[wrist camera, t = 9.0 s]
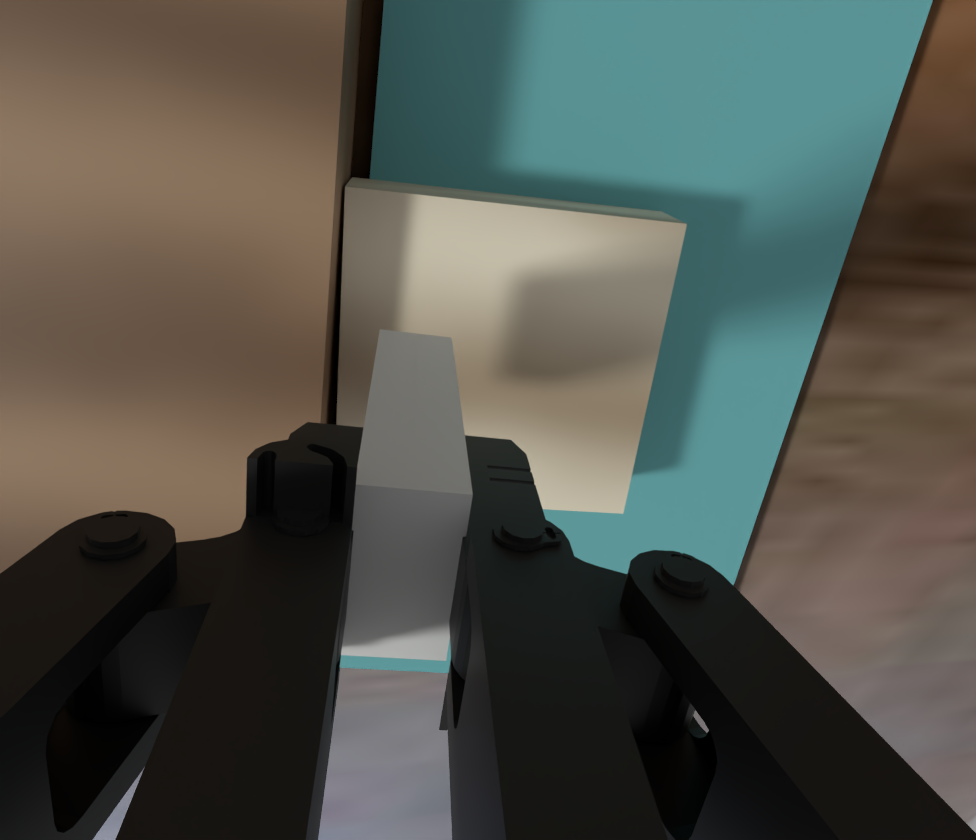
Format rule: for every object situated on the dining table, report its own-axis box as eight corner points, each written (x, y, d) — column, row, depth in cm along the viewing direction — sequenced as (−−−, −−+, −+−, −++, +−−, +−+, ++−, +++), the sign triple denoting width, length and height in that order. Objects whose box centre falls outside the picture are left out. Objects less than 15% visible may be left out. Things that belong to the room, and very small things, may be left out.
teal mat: (403, -234, 15) (403, -244, 15) (957, -110, 17) (972, -116, 17) (332, 656, 25) (330, 666, 24) (694, 675, 27) (699, 685, 26)
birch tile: (352, 177, 18) (344, 186, 16) (661, 211, 19) (687, 223, 17) (340, 462, 21) (333, 497, 20) (606, 479, 22) (623, 513, 21)
